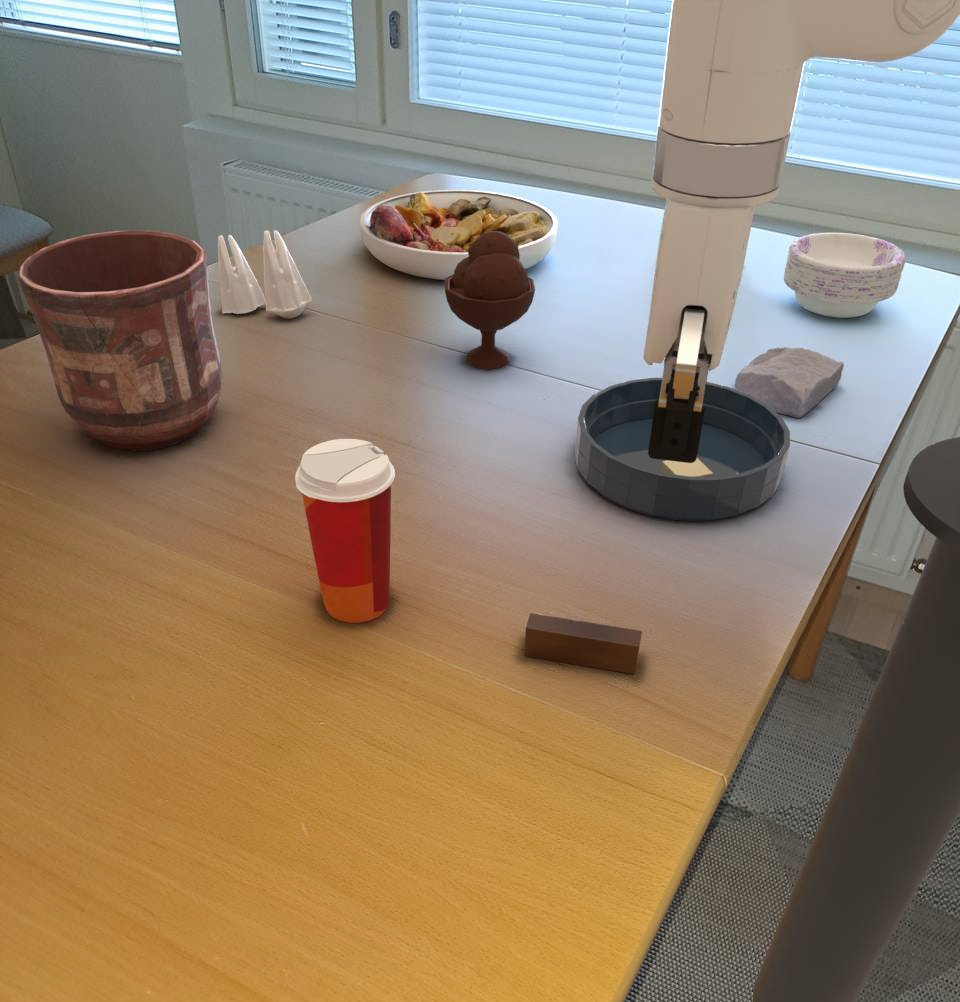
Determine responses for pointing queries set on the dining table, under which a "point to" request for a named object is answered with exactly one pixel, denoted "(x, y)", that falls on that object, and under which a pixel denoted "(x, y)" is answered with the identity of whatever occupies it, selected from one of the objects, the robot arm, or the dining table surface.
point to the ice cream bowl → (490, 293)
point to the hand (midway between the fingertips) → (677, 423)
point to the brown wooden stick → (582, 643)
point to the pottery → (127, 334)
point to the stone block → (790, 379)
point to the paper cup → (349, 525)
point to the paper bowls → (842, 272)
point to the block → (686, 468)
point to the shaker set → (280, 280)
